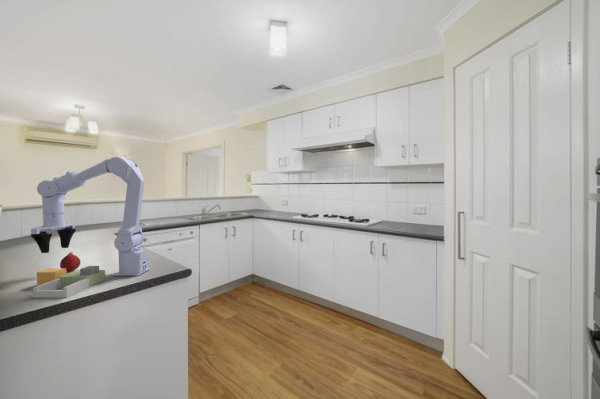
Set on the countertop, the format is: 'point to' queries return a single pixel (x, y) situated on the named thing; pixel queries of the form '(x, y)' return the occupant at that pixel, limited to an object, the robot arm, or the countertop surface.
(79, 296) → the countertop surface
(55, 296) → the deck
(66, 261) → the onion
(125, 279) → the countertop surface
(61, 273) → the orange block
